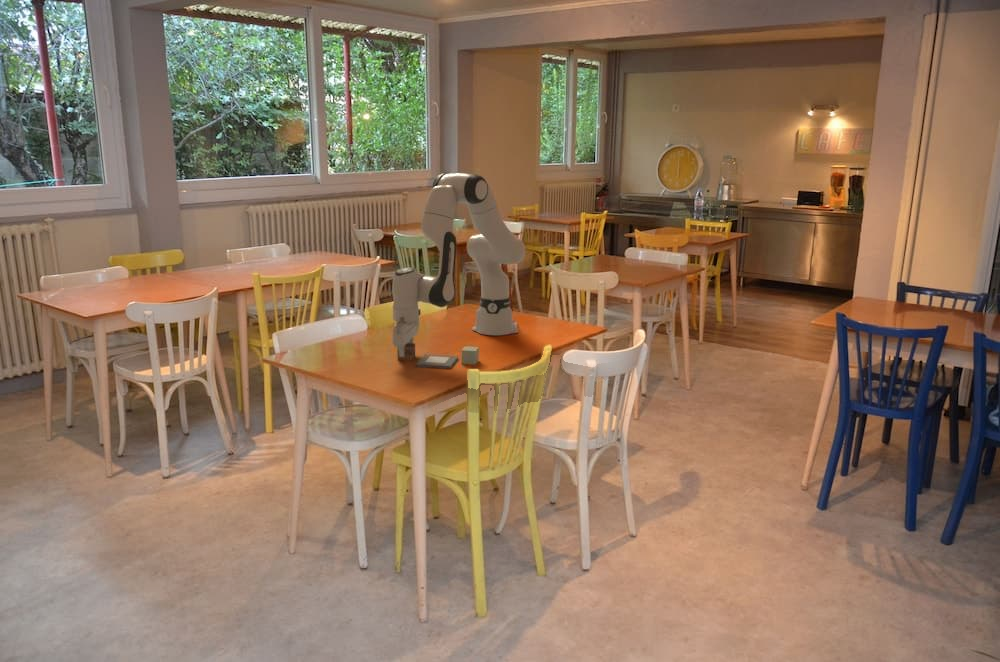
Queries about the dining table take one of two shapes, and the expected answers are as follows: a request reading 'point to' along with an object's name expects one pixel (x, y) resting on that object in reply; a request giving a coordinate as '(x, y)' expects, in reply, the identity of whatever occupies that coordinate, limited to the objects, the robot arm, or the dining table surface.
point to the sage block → (470, 355)
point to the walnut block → (408, 352)
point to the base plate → (437, 361)
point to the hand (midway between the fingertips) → (406, 352)
